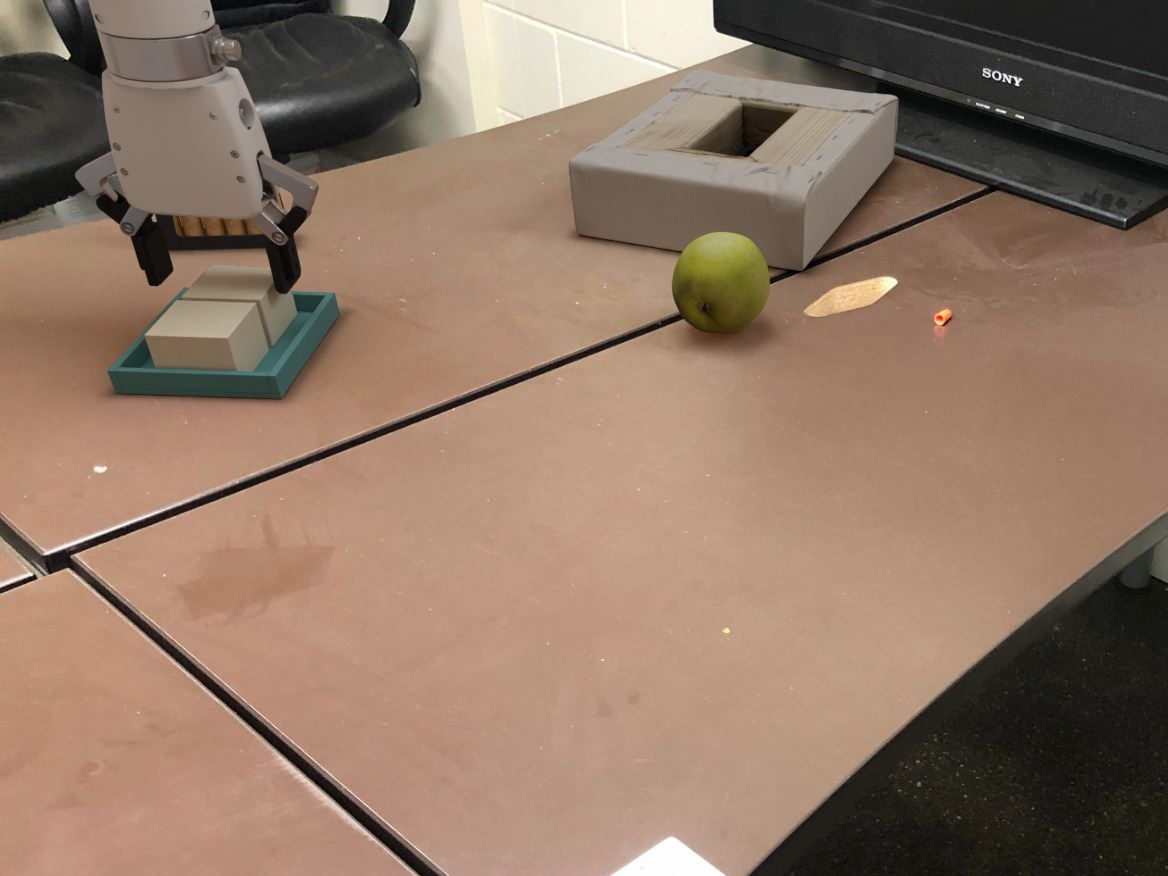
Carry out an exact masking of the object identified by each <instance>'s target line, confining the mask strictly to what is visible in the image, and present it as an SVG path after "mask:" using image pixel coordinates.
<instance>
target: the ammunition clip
mask: <svg viewBox="0 0 1168 876" xmlns="http://www.w3.org/2000/svg"><path fill="white" fill-rule="evenodd" d="M274 200H275V201H276V202H277V203H278V204H279V205H280V206H282V207H283V208H284V209H285V207H284V202H283V199H282V196H281V193H280V192H279V194H278V196H277V197H275V198H274ZM154 216H155V220H156V221H155V222H159V225H160V226H161V227H162V230H163V234H164V237H165V240H166V244H167V247H168V251H169V252H171V251H199V250H201V251H202V250H233V249H235V250H236V249H266V245H267V244H268V243H269V242H270V239H269V238H268V237H267V236H266V235H265V234H264V233H263V232H262V231H261V230H260V229H259V228H258V227H257V226H256V225H254V224H253V223H252V222H251V221H250V220H249V219H222V218H205V217H188V216H174V215H161V214H154Z"/></svg>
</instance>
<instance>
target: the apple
mask: <svg viewBox="0 0 1168 876" xmlns="http://www.w3.org/2000/svg"><path fill="white" fill-rule="evenodd" d="M672 273H673V274H672V280H671V293H672V298H673V301H674V304H675V306H676V308H677V310H678V313H679V314H680V316H681V318H682V319H683V320H684V321H685V322H686V323H687V324H688V325H690V326H691V327H693V328H694V329H695V330H697V331H699V332H701V333H704V334H715V335H716V334H720V335H721V334H729V333H733V332H736V331H739V330H741V329H742V328H744V327H746V326H747V325H749V324H750V323H752V322H753V321H755V320H756V319H757V318H758V317H759V316H760V314H761V313H762V311H763V310H764V308H765V307H766V304H767V301H768V299H769V295H770V292H771V291H770V290H771V279H770V272H769V266H767V263H766V261H765V259H764V257H763V255H762V253H761V252H760V250H759V249H758V247H757V246H756V245H755V244H754V243H753V242H752V241H751V240H750V239H749V238H747V237H745V236H742V235H739V234H735V233H729V232H714V233H709V234H706V235H703V236H701V237H699V238H697V239H695V240H694V241H693V242H691V243H690V244H689V245H688V246H687V247H686V248H685V249H684V251H681V254H680V255H679V257H678V259H677V261H676V264H675V266H674V270H673V272H672Z"/></svg>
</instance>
